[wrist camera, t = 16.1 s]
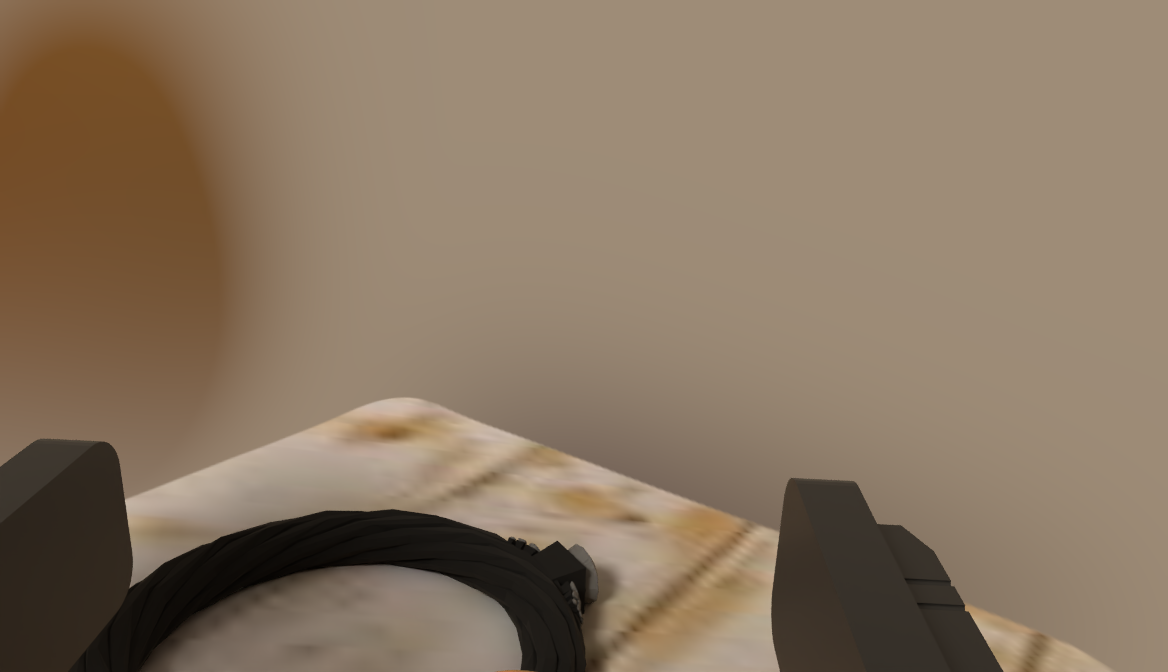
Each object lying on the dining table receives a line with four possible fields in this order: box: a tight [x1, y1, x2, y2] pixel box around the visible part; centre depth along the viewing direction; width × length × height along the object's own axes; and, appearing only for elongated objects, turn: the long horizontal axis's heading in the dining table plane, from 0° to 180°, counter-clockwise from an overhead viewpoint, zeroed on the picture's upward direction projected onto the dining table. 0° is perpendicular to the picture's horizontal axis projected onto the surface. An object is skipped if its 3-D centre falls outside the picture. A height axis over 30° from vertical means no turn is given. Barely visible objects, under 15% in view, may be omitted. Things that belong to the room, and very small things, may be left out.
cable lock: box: [68, 509, 598, 672], centre depth 52 cm, size 28×4×30 cm
